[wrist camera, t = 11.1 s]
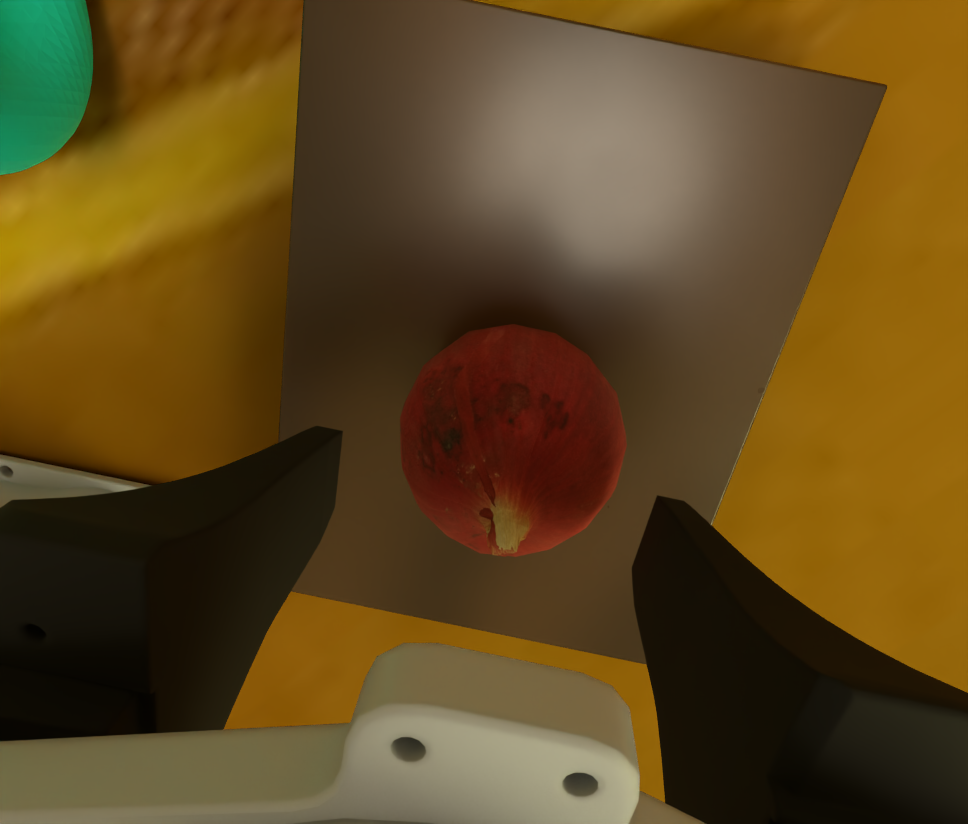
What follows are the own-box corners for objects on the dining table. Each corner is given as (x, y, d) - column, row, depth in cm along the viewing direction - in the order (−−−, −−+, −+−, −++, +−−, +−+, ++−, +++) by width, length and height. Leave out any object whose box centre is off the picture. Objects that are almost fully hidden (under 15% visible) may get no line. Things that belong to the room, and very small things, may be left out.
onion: (388, 369, 20) (300, 501, 13) (535, 256, 18) (530, 335, 11) (500, 498, 22) (479, 683, 14) (646, 405, 20) (706, 563, 12)
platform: (297, 541, 27) (269, 587, 24) (339, -10, 19) (304, -34, 16) (644, 612, 27) (655, 667, 24) (838, 92, 19) (889, 84, 16)
